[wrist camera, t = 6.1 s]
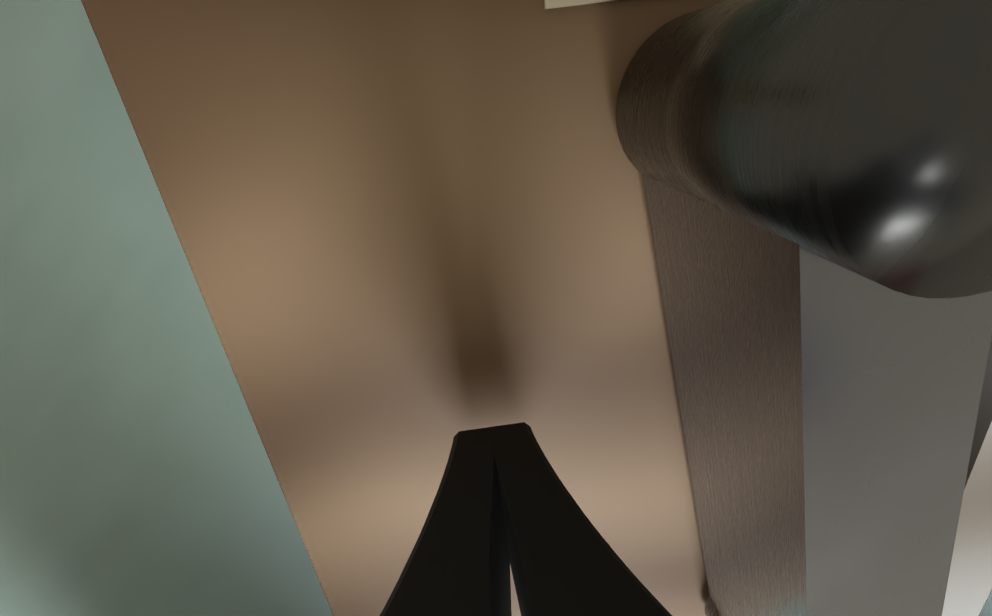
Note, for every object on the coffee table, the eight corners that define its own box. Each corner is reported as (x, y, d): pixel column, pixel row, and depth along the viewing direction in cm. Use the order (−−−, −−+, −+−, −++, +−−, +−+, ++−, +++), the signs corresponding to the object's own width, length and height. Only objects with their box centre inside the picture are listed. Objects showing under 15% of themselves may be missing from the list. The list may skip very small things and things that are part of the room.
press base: (800, 572, 16) (923, 743, 11) (372, 639, 15) (342, 838, 11) (962, -143, 8) (1485, -382, 4) (123, -42, 8) (-251, -192, 4)
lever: (795, 614, 13) (980, 896, 9) (705, 638, 14) (839, 929, 9) (772, -15, 7) (1430, -233, 2) (601, 41, 7) (886, -56, 2)
